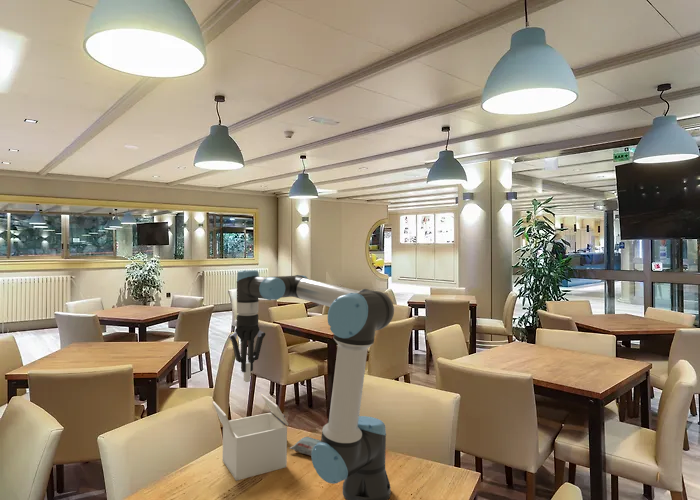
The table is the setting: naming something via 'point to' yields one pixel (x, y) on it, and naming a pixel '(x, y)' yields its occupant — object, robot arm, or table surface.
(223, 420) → the flap left
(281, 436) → the carton
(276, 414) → the flap right
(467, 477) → the table surface
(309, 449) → the packaged food
